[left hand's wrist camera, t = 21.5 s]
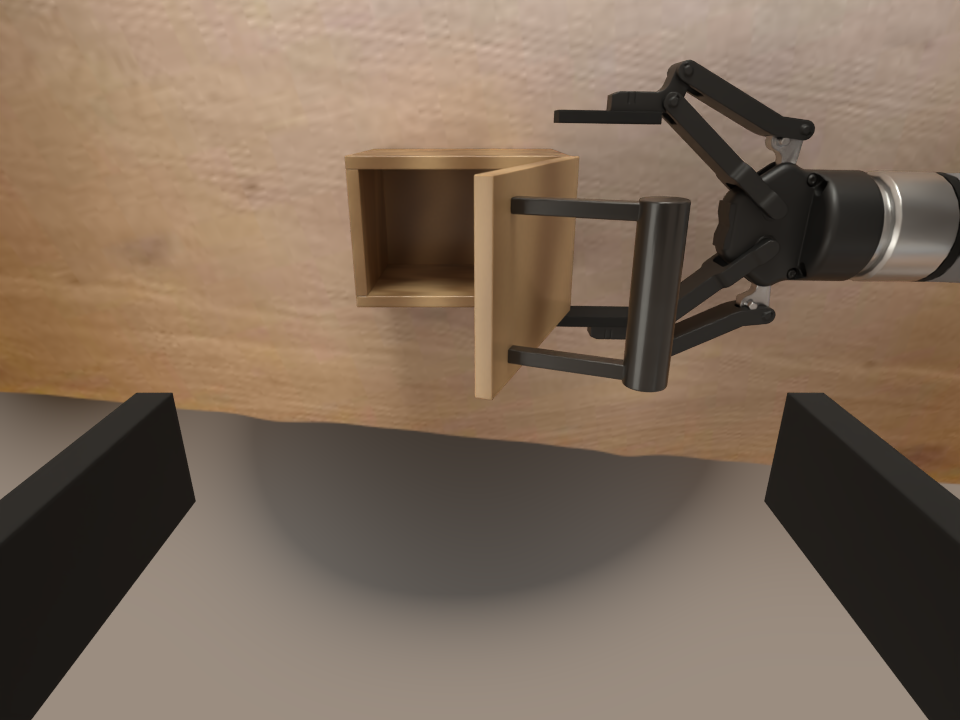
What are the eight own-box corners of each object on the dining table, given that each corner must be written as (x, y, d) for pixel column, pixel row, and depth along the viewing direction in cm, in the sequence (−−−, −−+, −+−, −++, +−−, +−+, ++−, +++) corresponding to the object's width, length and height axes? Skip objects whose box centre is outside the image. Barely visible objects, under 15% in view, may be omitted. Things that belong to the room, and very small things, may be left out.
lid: (474, 397, 26) (658, 429, 24) (473, 174, 23) (690, 181, 20) (557, 308, 39) (684, 322, 36) (565, 156, 35) (706, 158, 33)
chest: (381, 271, 49) (356, 307, 39) (373, 149, 45) (344, 156, 36) (547, 271, 49) (563, 307, 39) (552, 148, 45) (571, 155, 36)
